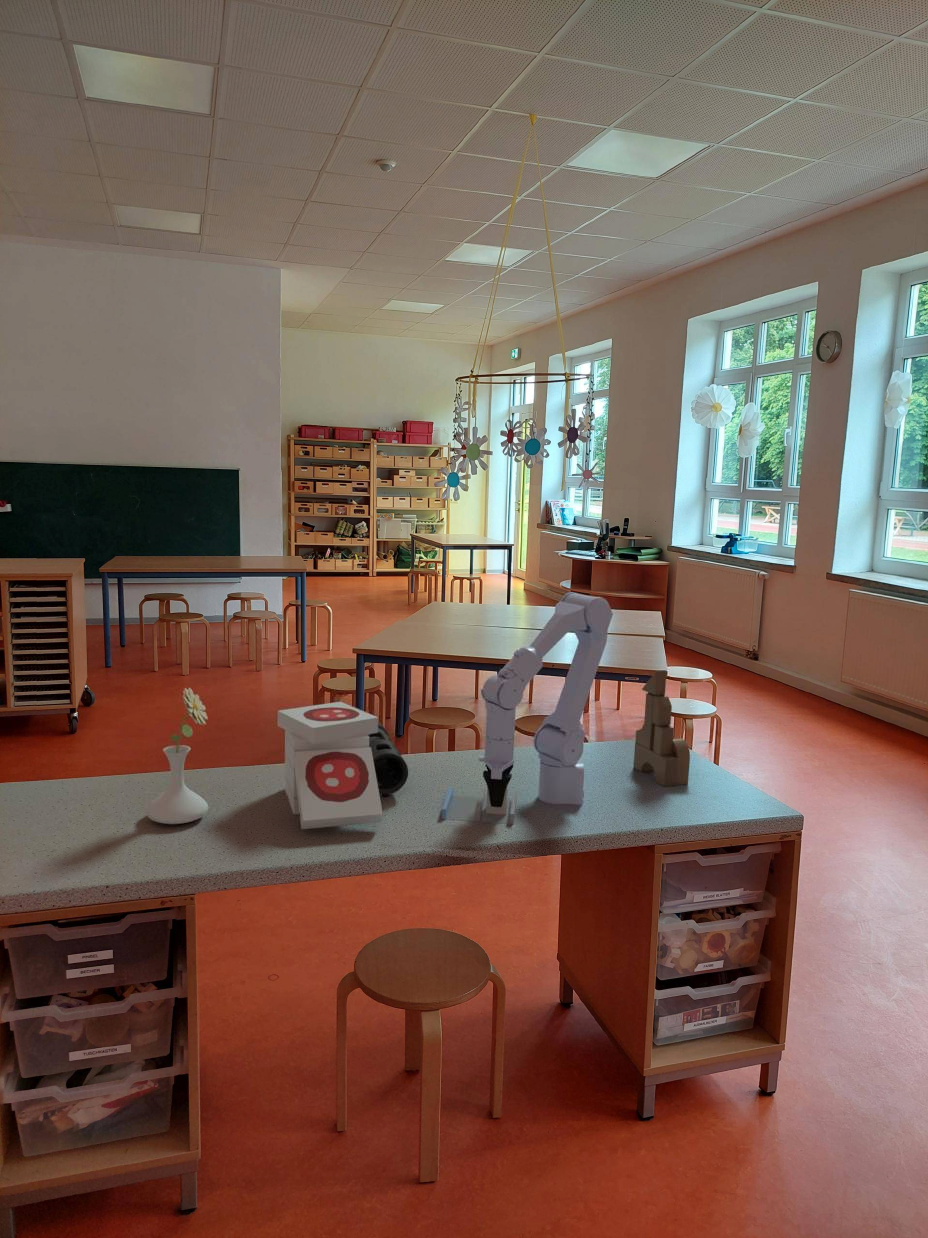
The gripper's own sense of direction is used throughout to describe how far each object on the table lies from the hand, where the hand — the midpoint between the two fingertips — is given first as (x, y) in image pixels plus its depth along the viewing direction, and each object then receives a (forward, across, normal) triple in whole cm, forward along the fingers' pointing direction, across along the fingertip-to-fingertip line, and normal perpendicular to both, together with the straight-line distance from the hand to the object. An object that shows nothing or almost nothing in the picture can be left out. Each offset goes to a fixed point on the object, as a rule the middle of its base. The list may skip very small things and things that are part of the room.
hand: (497, 802), depth 177 cm
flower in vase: (+3, +12, -60) cm, 62 cm away
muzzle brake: (+3, -18, -28) cm, 33 cm away
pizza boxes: (+3, +2, -33) cm, 33 cm away
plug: (+2, 0, 0) cm, 2 cm away
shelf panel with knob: (+3, 0, -3) cm, 4 cm away
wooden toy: (+3, -32, +36) cm, 48 cm away
